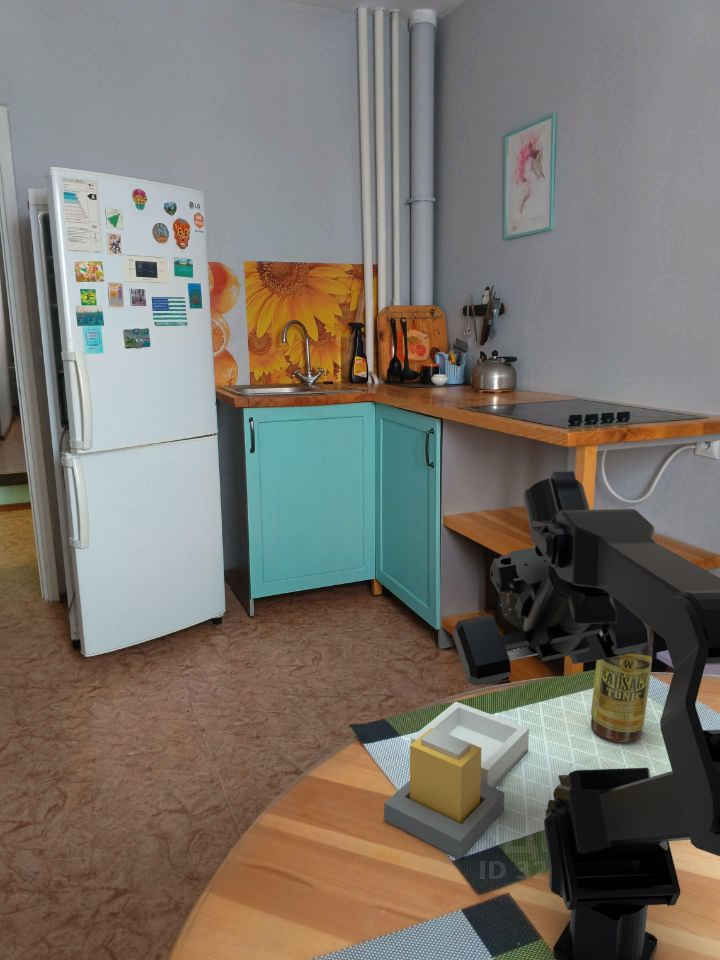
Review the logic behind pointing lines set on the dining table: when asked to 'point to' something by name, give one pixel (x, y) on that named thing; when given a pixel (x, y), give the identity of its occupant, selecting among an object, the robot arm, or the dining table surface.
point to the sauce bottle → (622, 694)
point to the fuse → (445, 774)
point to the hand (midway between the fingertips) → (533, 668)
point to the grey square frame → (444, 820)
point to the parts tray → (484, 738)
